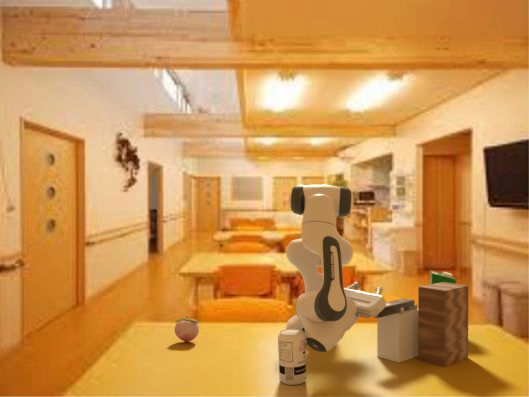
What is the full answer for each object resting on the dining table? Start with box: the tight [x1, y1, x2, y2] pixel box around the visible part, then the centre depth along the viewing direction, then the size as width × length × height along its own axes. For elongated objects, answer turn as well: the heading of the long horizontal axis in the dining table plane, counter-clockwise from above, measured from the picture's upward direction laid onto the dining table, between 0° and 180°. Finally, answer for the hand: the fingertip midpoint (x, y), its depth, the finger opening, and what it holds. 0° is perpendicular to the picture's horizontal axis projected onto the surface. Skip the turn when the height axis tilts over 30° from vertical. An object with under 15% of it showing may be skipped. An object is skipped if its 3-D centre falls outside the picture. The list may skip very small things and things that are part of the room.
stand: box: [417, 282, 469, 368], centre depth 198 cm, size 15×10×25 cm, turn 131°
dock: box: [376, 304, 418, 363], centre depth 202 cm, size 14×9×18 cm, turn 131°
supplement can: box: [277, 328, 307, 386], centre depth 175 cm, size 8×8×15 cm
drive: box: [373, 297, 416, 319], centre depth 199 cm, size 22×4×3 cm, turn 133°
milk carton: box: [429, 269, 457, 285], centre depth 232 cm, size 9×9×25 cm
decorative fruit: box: [174, 316, 200, 343], centre depth 219 cm, size 9×8×10 cm
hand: (369, 286), depth 191 cm, fingers open, 8 cm apart
